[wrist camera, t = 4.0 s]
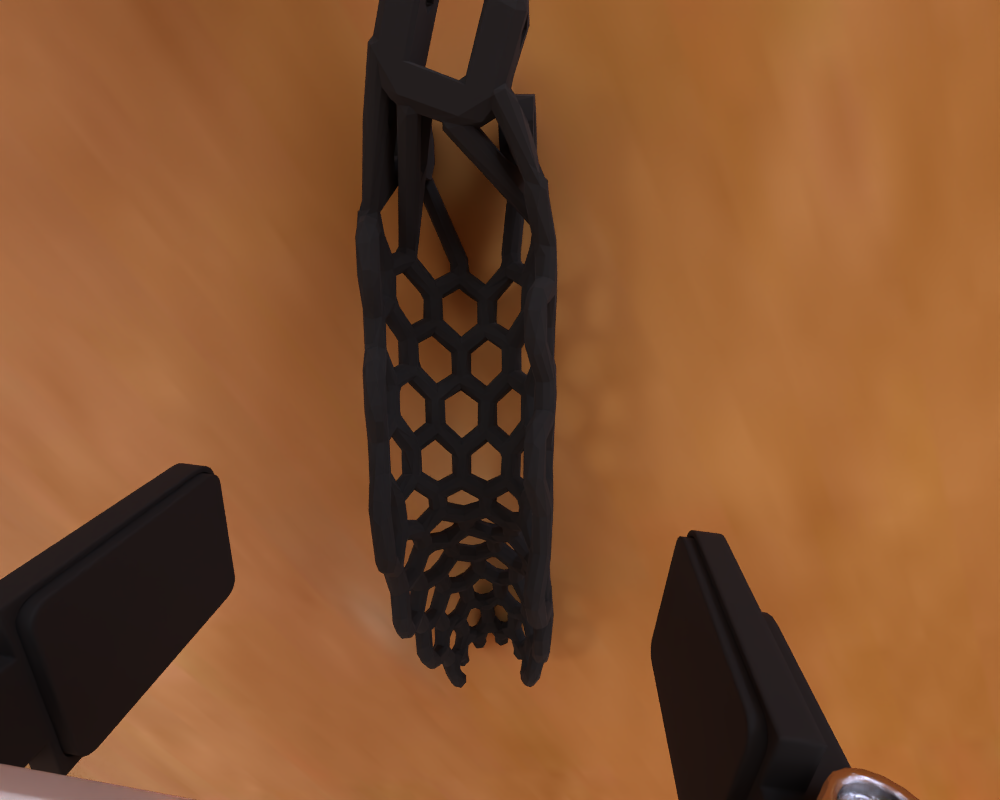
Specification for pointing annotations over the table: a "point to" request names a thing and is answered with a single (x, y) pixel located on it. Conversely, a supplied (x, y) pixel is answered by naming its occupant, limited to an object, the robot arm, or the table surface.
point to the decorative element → (458, 340)
